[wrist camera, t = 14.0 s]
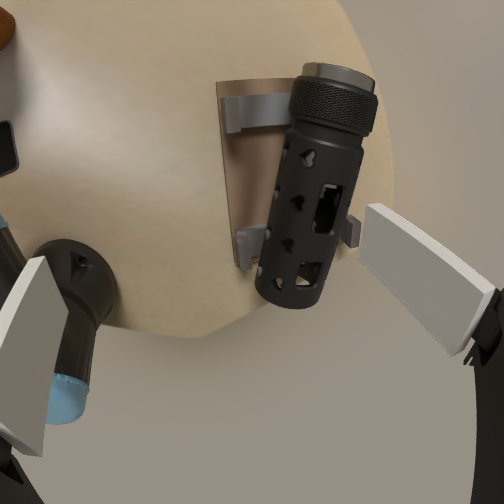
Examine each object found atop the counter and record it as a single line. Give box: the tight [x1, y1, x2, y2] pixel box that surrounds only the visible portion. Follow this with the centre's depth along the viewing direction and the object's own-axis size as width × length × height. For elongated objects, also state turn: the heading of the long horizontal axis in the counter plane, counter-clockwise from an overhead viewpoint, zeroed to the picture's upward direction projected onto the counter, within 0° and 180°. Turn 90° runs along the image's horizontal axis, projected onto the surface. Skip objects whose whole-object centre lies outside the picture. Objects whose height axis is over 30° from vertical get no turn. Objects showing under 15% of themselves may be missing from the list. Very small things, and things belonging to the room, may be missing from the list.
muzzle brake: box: [255, 62, 378, 309], centre depth 34 cm, size 10×28×10 cm, turn 171°
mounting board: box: [216, 78, 361, 271], centre depth 38 cm, size 18×26×6 cm
